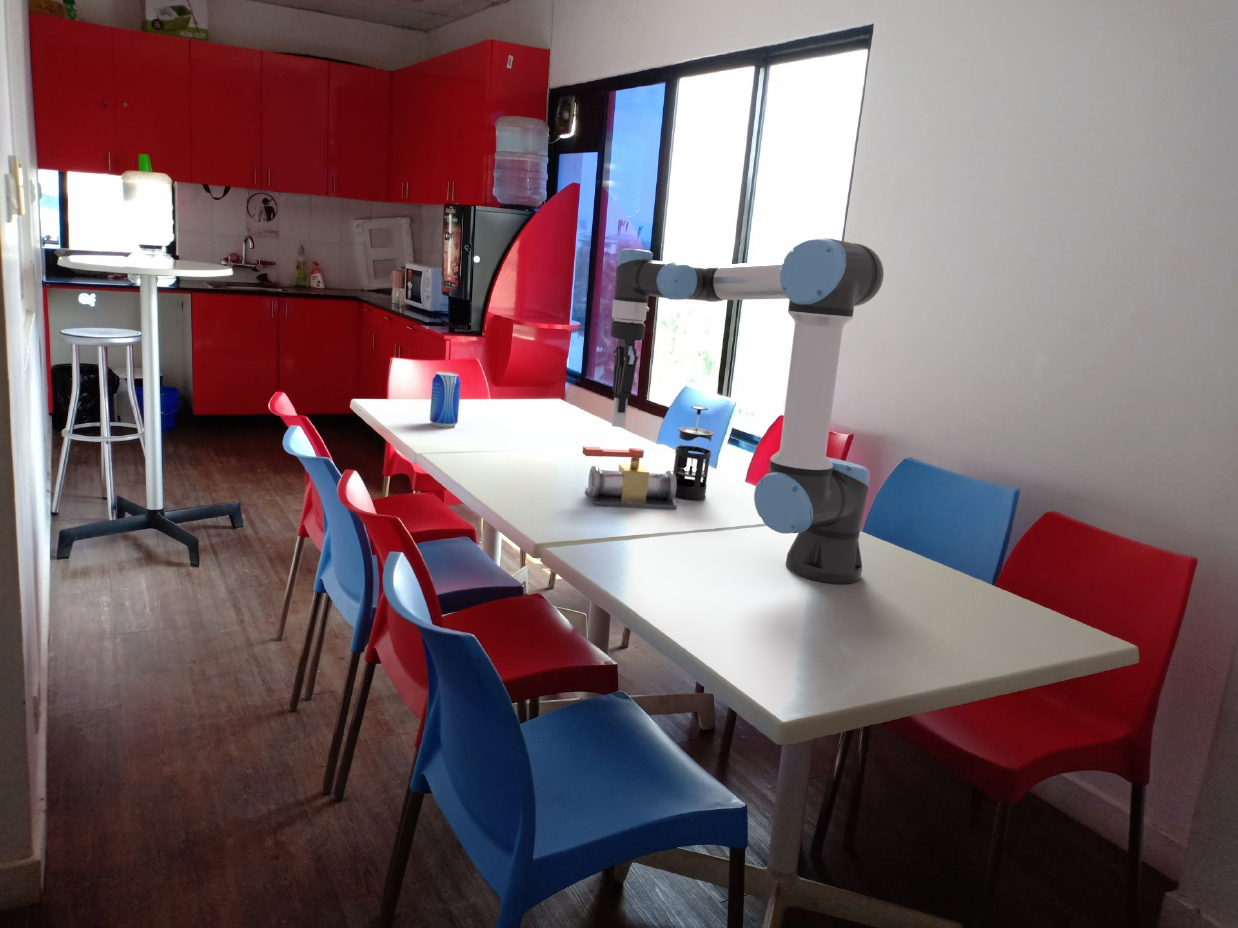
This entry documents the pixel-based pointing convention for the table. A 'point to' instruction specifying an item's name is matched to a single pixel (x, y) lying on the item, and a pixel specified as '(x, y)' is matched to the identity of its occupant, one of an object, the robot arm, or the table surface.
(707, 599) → the table surface
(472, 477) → the table surface
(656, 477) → the valve body
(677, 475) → the french press
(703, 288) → the robot arm
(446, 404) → the beer can
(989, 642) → the table surface
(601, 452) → the lever
